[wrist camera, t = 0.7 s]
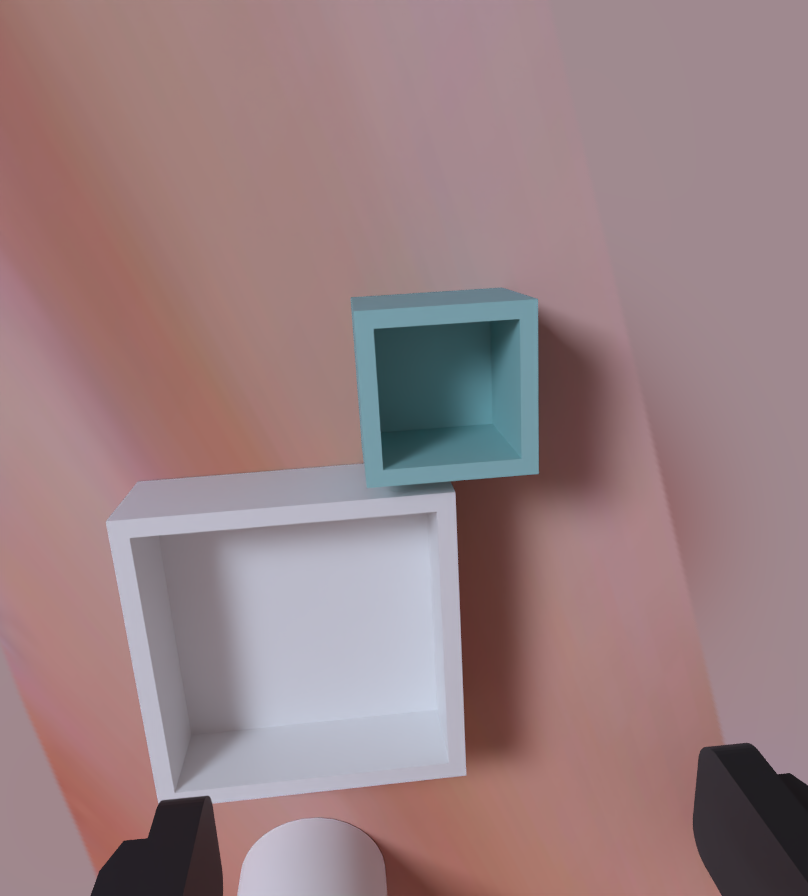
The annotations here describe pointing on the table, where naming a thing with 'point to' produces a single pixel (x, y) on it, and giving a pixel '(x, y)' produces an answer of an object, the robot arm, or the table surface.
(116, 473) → the table surface
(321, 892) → the cylindrical container
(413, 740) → the white crate
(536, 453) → the teal crate
